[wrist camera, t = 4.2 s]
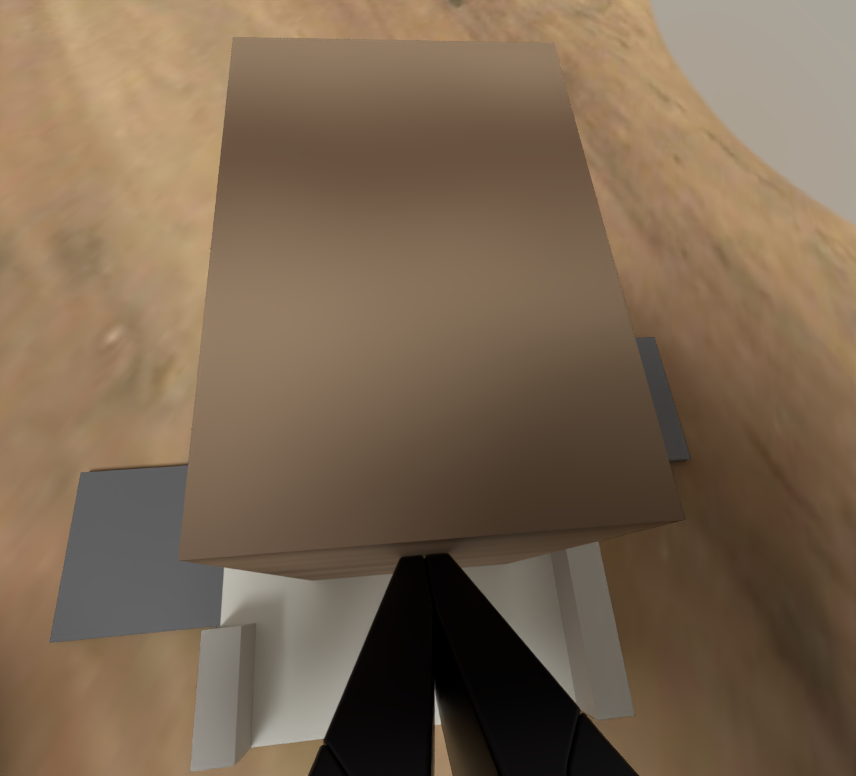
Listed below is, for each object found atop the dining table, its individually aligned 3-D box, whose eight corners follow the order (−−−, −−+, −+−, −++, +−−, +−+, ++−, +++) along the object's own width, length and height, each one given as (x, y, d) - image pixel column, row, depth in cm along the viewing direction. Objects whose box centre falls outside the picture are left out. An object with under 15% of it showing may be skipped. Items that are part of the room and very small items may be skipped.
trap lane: (749, 678, 15) (844, 700, 12) (33, 764, 13) (-81, 820, 10) (597, 158, 24) (629, 90, 20) (141, 162, 22) (98, 87, 18)
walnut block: (507, 563, 15) (686, 520, 6) (311, 580, 15) (177, 561, 5) (473, 314, 19) (553, 42, 9) (313, 320, 18) (232, 36, 9)
